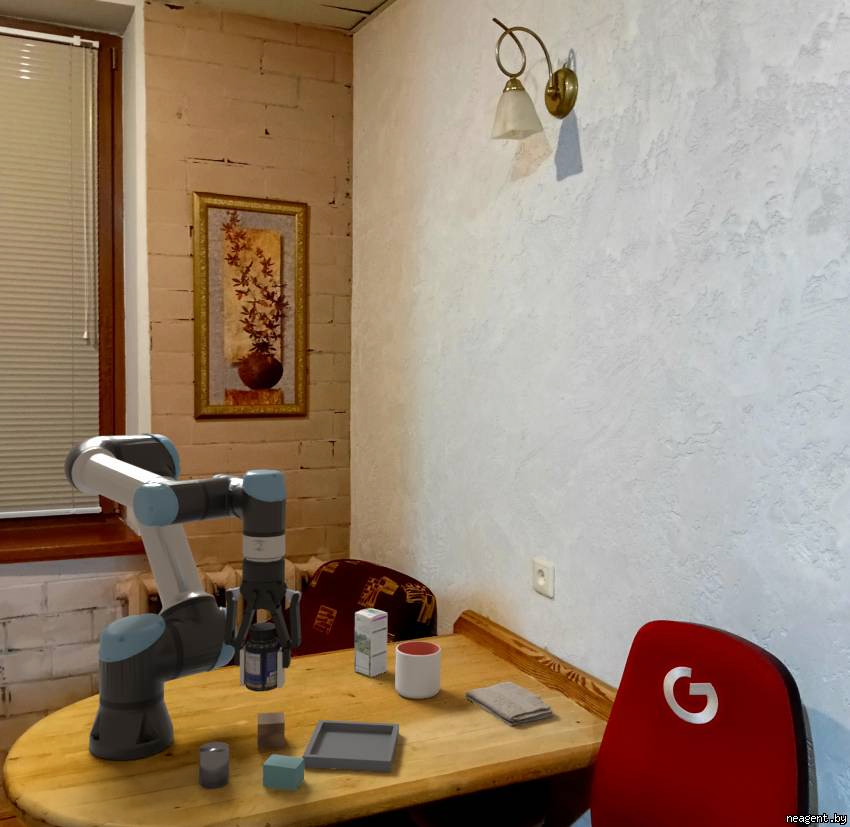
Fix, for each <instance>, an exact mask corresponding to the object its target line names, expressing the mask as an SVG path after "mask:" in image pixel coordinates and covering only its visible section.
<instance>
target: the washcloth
mask: <svg viewBox="0 0 850 827" xmlns="http://www.w3.org/2000/svg"><path fill="white" fill-rule="evenodd" d="M465 698H467V699H469V700H468V701H469V702H471V701H472V702H471V703H473V702H474V703H475V704H477V705H478V706H477V705H476V706H477V707H479V706H480V707H481V708H480V707H479V708H480V709H482V710H483V711H484V712H487V713H489V714H490V713H491V714H490V715H492V716H493V715H494V716H493V717H495V716H496V717H495V718H497V720H499V719H500V722H502V723H503V724H505V725H506V726H508V727H510V728H513V726H515V727H516V726H517V727H518V726H524V725H528V724H533V723H536V722H541V721H545V720H549V719H551V718H554V717H555V716H554V713H553V710H552V709H551V704H548V703H547V702H545V700H543V699H542V697H541V696H540V695H539V694H538V695H537V694H535V693H532V692H531V691H529V690H528V689H526V688H524V687H522V686H519V685H517V684H516V683H514V682H512V681H504V682H500V683H496V684H494V685H490V686H487V687H485V686H484V687H480V688H475V689H471V690H468V691H466V693H465V697H464V699H465ZM467 699H466V700H467ZM474 703H473V704H474Z"/></svg>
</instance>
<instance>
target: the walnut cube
mask: <svg viewBox="0 0 850 827" xmlns="http://www.w3.org/2000/svg"><path fill="white" fill-rule="evenodd" d="M285 722H286V721H285V712H284V711H282V712H280V711H279V712H263V713H262V712H261V713H260V712H259V713H257V750H258V751H259V750H264V751H265V750H277V749H278V748H280V749H285V736H286V735H285V733H286V732H285V730H286V729H285V728H286V727H285Z"/></svg>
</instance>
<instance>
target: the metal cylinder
mask: <svg viewBox="0 0 850 827" xmlns="http://www.w3.org/2000/svg"><path fill="white" fill-rule="evenodd" d="M198 753H199V754H198V755H199V757H198V759H199V760H198V766H199V768H198V781H199V782H198V785H199V786H200V787H201V788H203V789H206V790H216V789H221V788H223V787H225V786H227V785H228V784H229V782H230V745H229V744H228V743H226V742H222V741H212V742H207V743H205V744H203V745H201V746H200V747H199V752H198Z"/></svg>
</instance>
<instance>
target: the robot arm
mask: <svg viewBox="0 0 850 827" xmlns="http://www.w3.org/2000/svg"><path fill="white" fill-rule="evenodd" d="M180 463H181V459H180V454H179V452H178V450H177V448H176V445H175V444H174V443H173V441H172V440H171V439H170V438H169V437H167V436H165V435H162V434H159V433H158V434H157V433H156V434H155V433H154V434H152V433H141V434H126V435H120V434H119V435H98V436H92V437H89V438H85V439H83V440H82V441H80V442H79V443H77V444H75V445H74V446H73V447H72V448H71V449H70V451H69V452H68V453H67V455H66V457H65V460H64V465H63V469H64V476H65V478H66V480H67V482H68V483H69V484H70V486H71V487H73V488H74V489H75V490H77V491H78V492H81V493H83V494H86V495H89V496H90V495H91V496H97V495H98V496H99V495H101V496H103V497H105V498H107V499H110V500H111V501H114V502H116V503H118V504H121V505H123V506H125V507H127V508H129V509H131V510H132V511H133V514H134V517H135V520H136V523H137V527H138V530H139V533H140V536H141V540H142V542H143V543H142V544H143V546H144V550H145V553H146V556H147V560H148V562H149V566H150V569H151V572H152V575H153V579H154V582H155V585H156V589H157V592H158V595H159V598H160V602H161V605H162V607H161V610H160V612H159V613H158V614H156V613H150V612H148V613H142V614H140V613H139V614H138V613H136V614H132V615H128V616H125V617H124V616H123V617H121V618H119V619H116V620H114V621H112V622H110V623H109V624H107V625H106V627H105V628H104V629H103V630H102V632H101V633H100V637H99V647H98V652H97V656H98V673H99V674H98V680H99V682H98V683H99V685H98V686H99V687H98V690H99V691H98V692H99V693H98V698H99V699H98V700H99V701H98V704H99V706H98V709H97V712H96V714H95V718H94V720H93V724H92V727H91V729H90V732H89V738H88V740H89V743H88V746H89V748H88V749H89V751H90V752H91V754H92V755H94V756H96V757H98V758H101V759H105V760H111V761H129V760H137V759H141V758H146V757H149V756H150V757H151V756H152V755H156V754H158V753H161V752H162V751H164V750H165V749H167V748H168V747H169V746H170V745H171V744H172V743H173V741H174V724H173V721H172V718H171V716H170V713H169V710H168V706H167V704H166V702H165V683H166V682H169V681H170V682H171V681H174V680H177V679H182V678H187V677H190V676H193V675H197V674H201V673H204V672H206V673H207V672H208V673H209V672H211V671H213V670H215V669H218V668H222V667H224V666H226V665H227V664H229V662H230V661H231V660H232V659H233V657H234V665H235V666H236V667H239V687H244V686H245V645H246V640H247V635H248V632H249V631H250V626H251V625H252V622H253V618H254V614H255V612H256V611H257V610H265V611H269V615H270V617H272V621H273V624H274V625H275V628H276V635H277V638H278V639H279V642H280V649H279V651H278V658H277V688H278V689H282V688H283V686H284V684H285V683H286V669H288V668H289V667H290V666H291V662H292V659H291V658H292V657H291V656H292V654H291V653H292V649H298V648H299V646H300V644H301V643H302V629H301V628H302V627H301V613H300V611H301V610H300V602H301V599H302V595H303V593H302V591H301V590H300V589H298V590H292V589H289V588H288V586H287V584H286V559H285V558H284V557H283V556H285V555H286V519H287V517H286V515H287V489H286V488H287V487H286V476H285V473H283V471H280V470H277V469H272V470H271V469H253V470H247V471H246V472H245V473H243V477H242V476H238V475H235V474H232V473H231V474H230V473H229V474H224V473H223V474H222V473H221V474H220V473H219V474H216V475H214V476H211V477H208V478H200V479H199V478H198V479H197V478H195V479H188V480H179V479H180V478H179V477H180V474H181V466H180ZM227 518H235V519H239V520H241V521H242V555H243V557H244V558H243V559H242V561H241V562H242V563H241V566H242V568H241V579H242V580H241V584H240V586H238V587H235V588H234V587H229V588H228V589H227V590H225V592H224V598H225V602H226V607H223V606H219V605H218V604H217V600H216V597H215V596H214V595H213V594H210V593H208V592H206V591H205V589H204V586H203V582H202V579H201V577H200V573H199V571H198V567H197V565H196V562H195V559H194V556H193V553H192V550H191V546H190V544H189V541H188V537H187V534H186V530H185V528H184V525H183V524H187V523H194V522H195V523H196V522H202V521H209V520H210V521H211V520H217V519H218V520H219V519H227ZM240 595H241V596H242V597H243V599H244V600H245V602H246V607H245V610H244V614H243V617H242V620H241V624H240V626H239V629H238V627H237V616H238V614H237V613H238V599H240ZM285 596H286V599H287V600H286V601H287V602H288V603H289V621H290V622H289V623H290V633H289V631H288V628H287V624H286V621H285V617H284V614H283V611H282V605H281V601H282V600H283V598H284V597H285ZM218 606H219V607H218ZM277 688H276V689H277Z"/></svg>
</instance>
